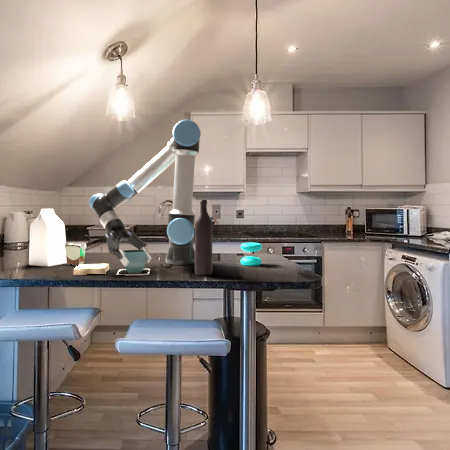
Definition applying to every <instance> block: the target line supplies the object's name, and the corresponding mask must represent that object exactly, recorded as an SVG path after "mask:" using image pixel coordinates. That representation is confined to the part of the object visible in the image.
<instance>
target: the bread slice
mask: <svg viewBox="0 0 450 450" xmlns="http://www.w3.org/2000/svg"><path fill="white" fill-rule="evenodd" d="M109 270H110V264H109V263H90V264H89V263H87V264H85V263H84V264H80V265H78V266H77V265H76V266H75V268H73V276H88V275H87V274H105V275H106V274H107V273H108V272H107V271H109ZM106 272H107V273H106Z"/></svg>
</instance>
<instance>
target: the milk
mask: <svg viewBox="0 0 450 450" xmlns="http://www.w3.org/2000/svg"><path fill="white" fill-rule="evenodd" d="M65 226H66V225H65V223H64V222H63V221H62V219H60V217H58V215H56V212H55V210H54V208H41V210H40V212H39V215H38V216H36V217H35V219H33V221H32V222H31V224H30V225H29V249H28V250H29V251H28V252H29V253H28V255H29V256H28V265H29V266H37V267H38V266H39V267H53V266H58V265H63V264H64V265H65V264H67V262H66V250H65V247H64V246H65V243H67V238H66V227H65Z"/></svg>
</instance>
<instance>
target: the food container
mask: <svg viewBox="0 0 450 450" xmlns="http://www.w3.org/2000/svg"><path fill="white" fill-rule="evenodd" d="M64 247H65V250H66V262H67V263H66V265H70V264H72V265H71V266H77V265H80V264H85V255H86V249H87V244H86V242H83V241H82V242H80V241H79V242H77V241H76V242H72V241H71V242H66V243H65V246H64Z"/></svg>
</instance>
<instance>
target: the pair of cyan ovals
mask: <svg viewBox="0 0 450 450" xmlns="http://www.w3.org/2000/svg"><path fill="white" fill-rule="evenodd" d="M240 248H241V250H242V251H244V252H247V253H248V252H249V253H253V252H254V253H255V252H259V251H261V250H262V249H263V245H262V244H261V243H259V242H245V243H244V242H243V243H241V245H240ZM240 264H241V265H243V266H247V267H257V266H260V265H262V264H263V260H262V259H261V258H260V257H258V256H251V255H250V256H244V257H242V258H241V259H240Z"/></svg>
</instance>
